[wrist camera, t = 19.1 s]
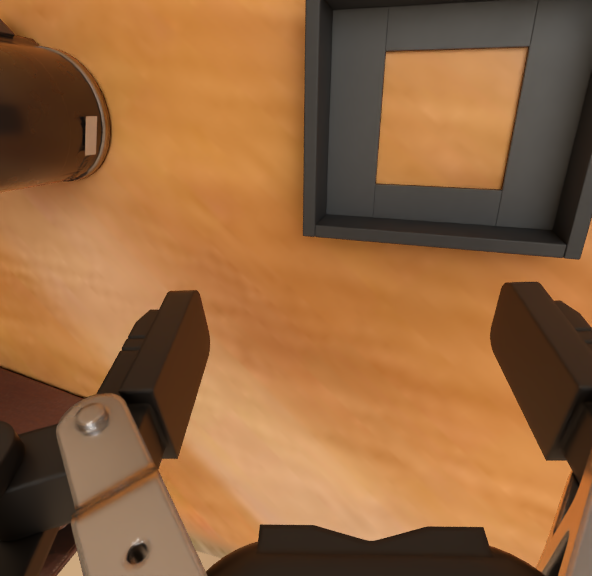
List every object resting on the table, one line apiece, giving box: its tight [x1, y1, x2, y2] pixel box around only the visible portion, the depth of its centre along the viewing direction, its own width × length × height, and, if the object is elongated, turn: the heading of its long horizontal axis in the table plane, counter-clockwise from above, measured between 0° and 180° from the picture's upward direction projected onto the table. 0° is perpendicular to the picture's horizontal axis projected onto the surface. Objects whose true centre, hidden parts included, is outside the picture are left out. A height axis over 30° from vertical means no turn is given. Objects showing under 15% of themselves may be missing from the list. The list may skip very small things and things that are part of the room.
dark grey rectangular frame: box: [303, 0, 592, 259], centre depth 24 cm, size 16×14×3 cm
